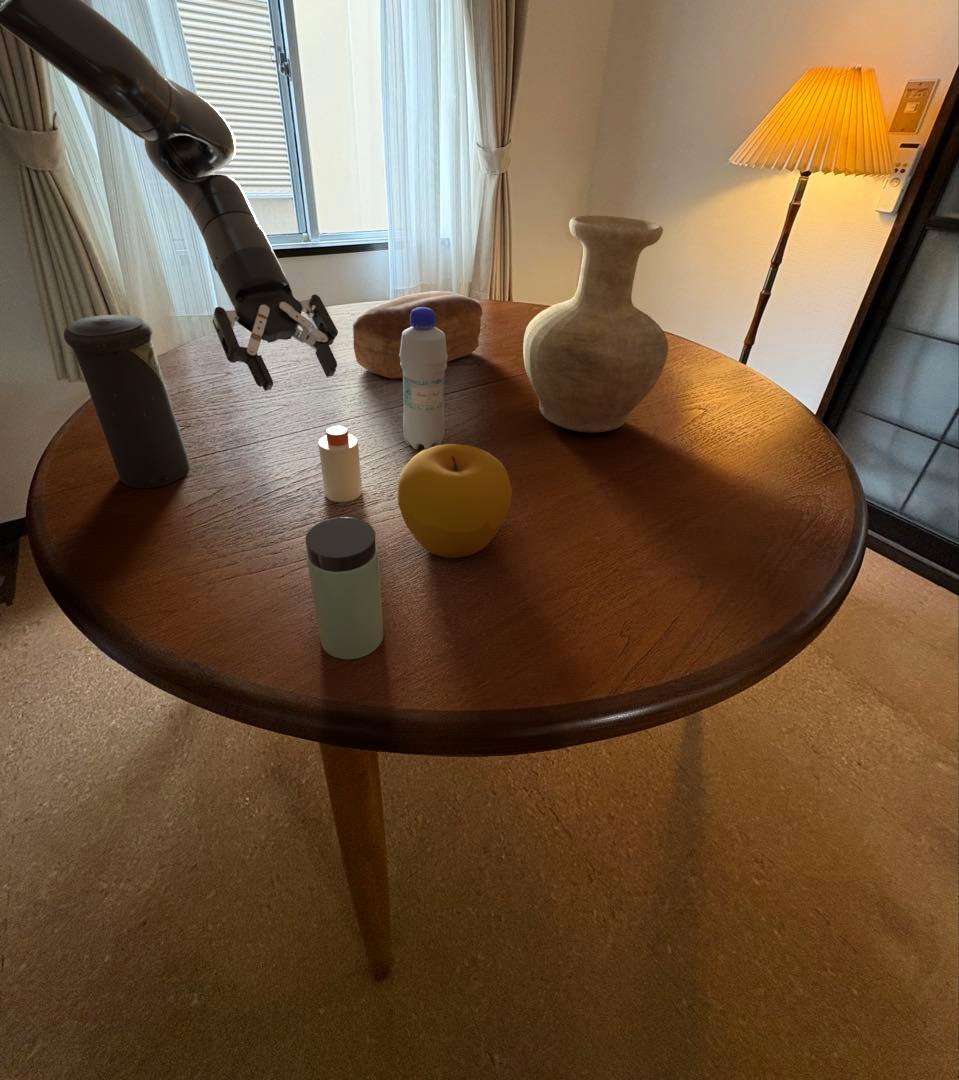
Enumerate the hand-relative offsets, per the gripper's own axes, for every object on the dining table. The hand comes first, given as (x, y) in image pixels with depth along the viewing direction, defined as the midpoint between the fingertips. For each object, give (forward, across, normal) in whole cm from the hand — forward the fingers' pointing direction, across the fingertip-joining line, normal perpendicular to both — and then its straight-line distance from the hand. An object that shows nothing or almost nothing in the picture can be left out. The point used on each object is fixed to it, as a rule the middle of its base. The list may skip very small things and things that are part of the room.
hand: (301, 380), depth 71 cm
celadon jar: (+31, -12, -13) cm, 36 cm away
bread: (-10, +38, +28) cm, 48 cm away
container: (+2, -18, +17) cm, 24 cm away
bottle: (+11, +17, +7) cm, 22 cm away
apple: (+27, +5, -8) cm, 29 cm away
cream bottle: (+15, 0, +3) cm, 15 cm away
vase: (+17, +44, +1) cm, 47 cm away
